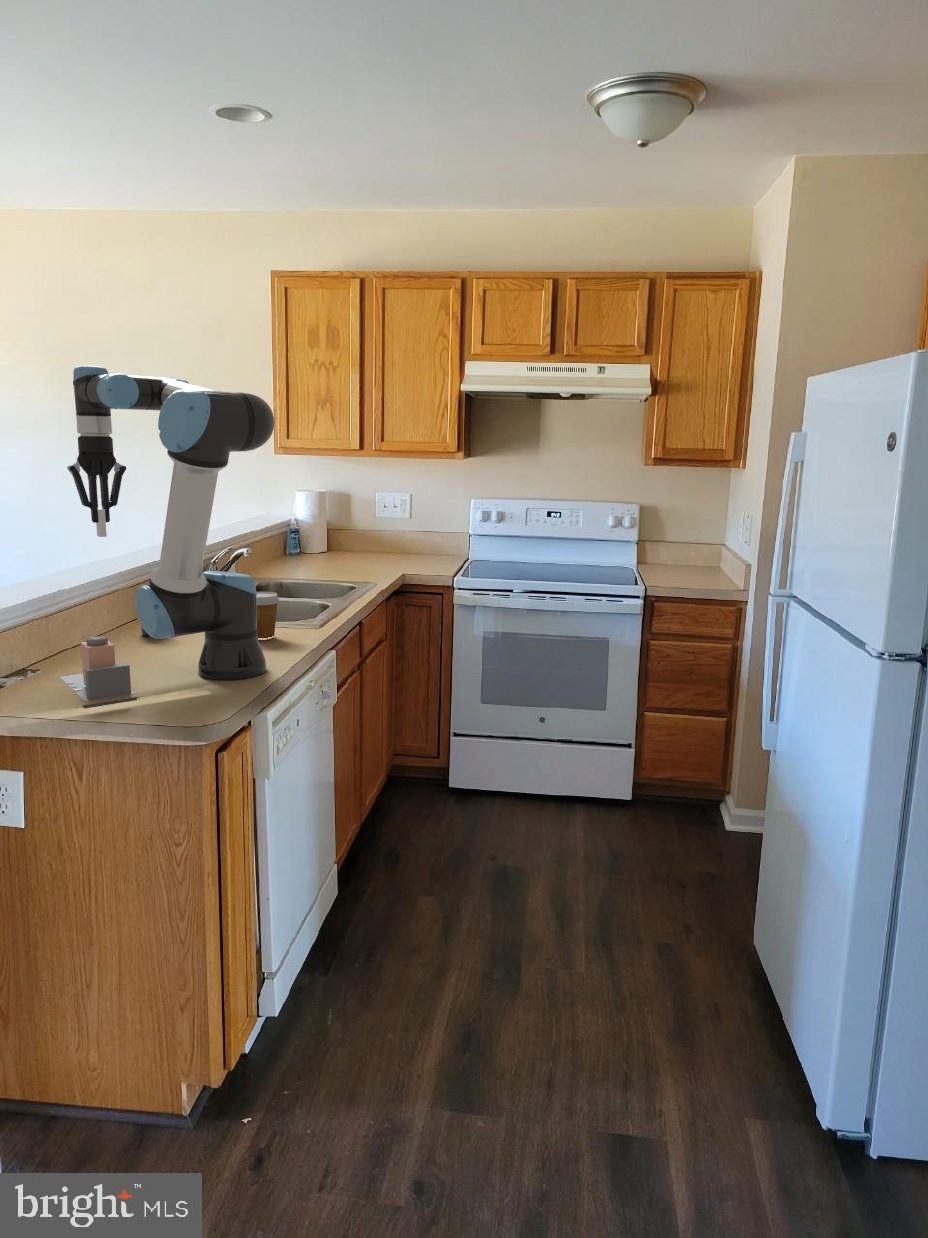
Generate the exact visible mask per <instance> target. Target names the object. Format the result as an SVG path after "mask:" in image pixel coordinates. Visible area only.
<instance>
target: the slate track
mask: <svg viewBox="0 0 928 1238" xmlns="http://www.w3.org/2000/svg"><path fill="white" fill-rule="evenodd" d="M130 669H131V668H130V665H129V664H128V663H126V662H125V663H118V664H115V665H110V666H102V667H95V668H88V669H85V675H86V686H85V685H84V678H83V673H76V674H69V675H64V676H59V678H60V679H61V680H62V681H63V682H64V683H65V684H66V685H67V686H68V687H69V688H70V689H71V690H72V691H73V692H74V693H75V694H76V695H77V696H79V698H80V699H82V701H84V702H88V701H89V702H90V701H97V700H102V699H103V700H104V699H109V698H110V699H111V698H115V697H122V696H128V695H135V694H137V692H136V691H134V689H132V686H131V684H132V683H131V682H132V681H131V670H130ZM137 700H138V697H137V696H134V697H133V696H132V697H128V698H123V699H116V700H109V701H102V702H97V703H90V704H89V703H88V704H84V705H82V707H83V708H84V709H90V708H96V707H103V706H109V705H116V704H122V703H129V702H133V701H134V702H135V701H137Z"/></svg>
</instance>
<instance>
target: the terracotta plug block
mask: <svg viewBox="0 0 928 1238" xmlns="http://www.w3.org/2000/svg"><path fill="white" fill-rule="evenodd" d="M80 650H81V662H82V674H83V678H84V685H85V686H86V675H85V669H88V668H95V667H102V666H110V665H116V656H115V655H116V653H115V644H113V643H112V642H110V641H109V640H108V637H106V636H92V637H88V638H86V641H81V642H80Z"/></svg>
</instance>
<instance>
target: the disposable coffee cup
mask: <svg viewBox="0 0 928 1238" xmlns="http://www.w3.org/2000/svg"><path fill="white" fill-rule="evenodd" d="M256 593H257V596H256V609H257V638H268V637H272V636H274V637H275V633H276V632H275V631H276V621H277V611H278V603H279V600H280V598H279V597H278V593H277V592H272V591H256Z"/></svg>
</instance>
